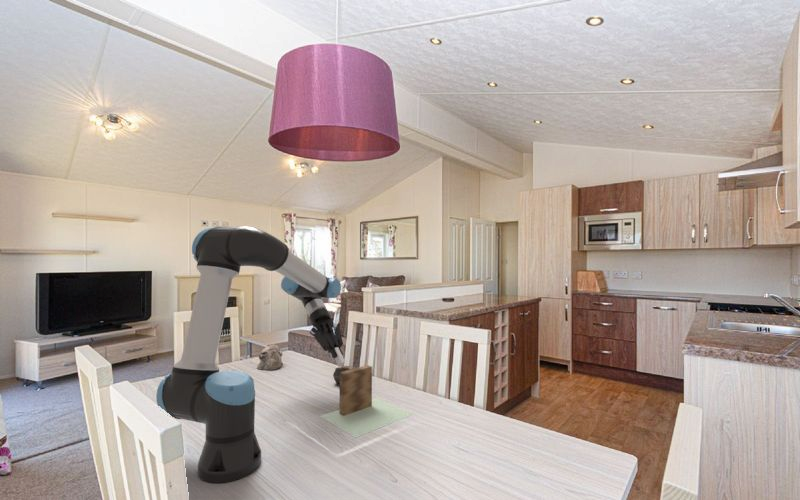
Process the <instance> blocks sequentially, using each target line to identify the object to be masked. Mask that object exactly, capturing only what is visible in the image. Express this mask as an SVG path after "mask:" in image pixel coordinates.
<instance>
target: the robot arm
mask: <svg viewBox="0 0 800 500" xmlns="http://www.w3.org/2000/svg"><path fill="white" fill-rule="evenodd" d="M191 254H192V255H193V258H194V261H195V262H196V269H197V271H198V272H199V274H200V277H199V280H198V284H197V289H196V293H195V298H194V302H193V306H192V311H191V314H190V315H191V316H190V319H189V324H188V328H187V333H186V337H185V341H184V345H183V350H182V354H181V358H180V359H179V361H177V362H175V364H173V366H172V370H171V372H170V373H168V374H167V375H166V376H164V379H162V380H161V381H160V382H159V385H158V386H157V389H156V399H155V400H156V403H157V404H156V405H157V407H158V406H160V407H161V408H162V409H164V410H165V411H166V412H167V413H169V414H170V415H171V416H172V417H171V416H170V417H171V418H173V417H174V418H173V419H176V420H184V421H191V422H196V423H199V424H205V442H204V444H203V447H202V450H201V454H200V456H199V458H198V459H199V460H198V463H197V476H198V478H199V479H200V480H202V481H204V482H207V483H213V484H214V483H215V484H219V483H220V484H222V483H229V482H233V481H236V480H240V479H243V478H244V477H247V476H249V475H250V474H251V473H253V472H255V471H256V470H257V469H258V468H259V467H260V465H261V463H262V449H261V446H260V443H259V441H258V439H257V435H256V432H255V416H256V415H255V414H256V413H255V412H256V411H255V410H256V409H255V408H256V406H255V405H256V390H255V382H254V379H253V377H252V376H251V375H250V374H248V373H247V372H244V371H239V370H231V371H229V370H221V371H220V367H219V366H218V364H217V363H216V358H217V355H218V350H219V349H218V348H219V346H220V345H219V344H220V341H221V340H220V339H221V334H222V330H223V326H224V321H225V316H226V312H227V306H228V301H229V296H230V293H231V287H232V282H233V279H234V278H236V277H237V276H239V274H240V272H241V271H240V270H241V267H259V268H262V269H264V270H266V271H269V272H276V273H278V274H280V275H282V276H283V278H282V280H281V281H280V282H281V283H280V287H281V289H282V291H284V292H285V293H287V295H290V296H292V297H293V298H295V299H297V300H299V301H301V303H302V305H303V307H304V309H305V312H306V314H307V315H308V317H309V320H310V322H311V325H312V327H311V329H310V330H309V334H310V335H312V336H313V337H314V339H315V340H316V342H317V343H318V344H319V345H320V347H321V348H322V349H323V351H324V352H327V351H328V353H330V354H331V357H332V359H334V360H335V362H336V364H337V366H338V367H343V366H344V364H346V361H345V358H344V354H343V351H342V349H341V348H342V346H343V345H344V342H343V341H344V340H343V337H342V333H341V323H337V324H336V323H334V321H333V320H332V319H331V315H330V313H329V310H328V308H327V306H326V304H325V303H324V301H323V299H336V298H338V297H339V295H340V293H341V289H342V284H341V281H340V280H339V278H336V277H327V276H326V275H324V274H323V273H321V272H320V271H318V270H317V269H316V268H314V267H313V266H311V264H309V263H307V262H306V261H304V260H303V259H302V258H300V257H299V256H297V255H296V254H294V253H293V252H292V251H290V249H289V247H288V245H287V244H286V243H285V242H283V241H281V240H280V239H278V238H277V237H276V236H274V235H272V234H270V233H268V232H267V231H264V230H262V229H259V228H256V227H253V226H247V225H245V226H244V225H243V226H242V225H241V226H222V225H218V226H217V225H216V226H213V227H207V228H205V229H203V230H200V232H198V233H197V235H196V236H195V237H194V239H193V241H192V245H191Z"/></svg>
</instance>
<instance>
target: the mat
mask: <svg viewBox="0 0 800 500" xmlns="http://www.w3.org/2000/svg"><path fill="white" fill-rule="evenodd" d="M412 415H414V414H413V413H411V412H409V411H407V410H405V409H402V408H400V407H397V406H396V405H393V404H391V403H389V402H386V401H384V400H382V399H380V398H377V397H372V406H371V407H368V408H365V409H362V410H359V411H356V412H353V413H351V414H348V415H345V416H343V415H341V414H339V409H337V410H334V411H331V412H327V413H325V414H322V415H319V417H320V418H322V419H323V420H325V421H327V422H329V423H330V424H332V425H334V426H335V427H336V428H337V429H340V430H342V431H343V432H345V433H347V434H348V435H350V436H352V437H353V438H359V437H360V436H364V435H366V434H369V433H370V432H373V431H376V430H378V429H380V428H383V427H385V426H388V425H390V424H392V423H395V422H397V421H401V420H403V419H404V418H407V417H410V416H412Z"/></svg>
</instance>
